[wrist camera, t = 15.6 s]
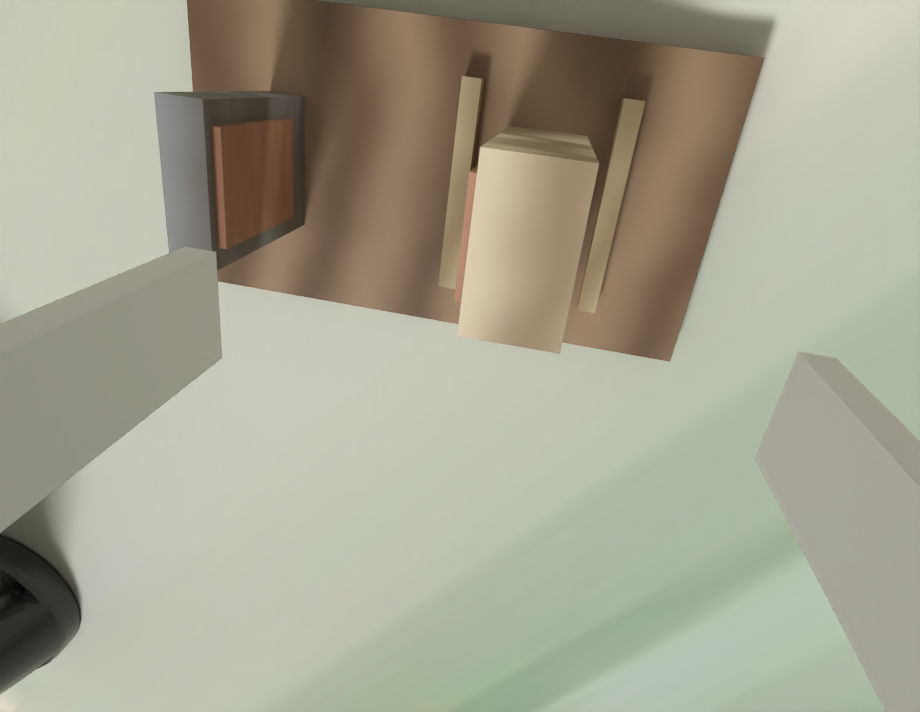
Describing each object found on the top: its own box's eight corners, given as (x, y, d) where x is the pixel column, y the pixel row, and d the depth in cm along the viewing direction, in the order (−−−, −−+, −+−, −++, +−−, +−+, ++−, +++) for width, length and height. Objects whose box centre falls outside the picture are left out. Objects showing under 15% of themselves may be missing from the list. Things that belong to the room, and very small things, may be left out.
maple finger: (484, 255, 34) (446, 334, 23) (502, 124, 31) (468, 145, 20) (561, 267, 33) (559, 353, 22) (587, 136, 30) (599, 163, 19)
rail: (218, 272, 39) (91, 339, 28) (202, -12, 32) (26, -60, 21) (666, 351, 36) (706, 457, 26) (754, 59, 29) (859, 43, 19)
